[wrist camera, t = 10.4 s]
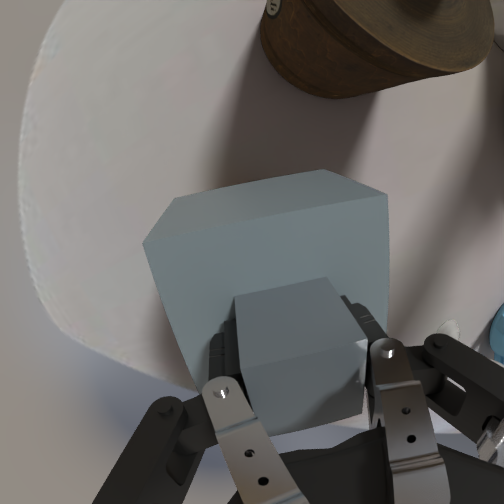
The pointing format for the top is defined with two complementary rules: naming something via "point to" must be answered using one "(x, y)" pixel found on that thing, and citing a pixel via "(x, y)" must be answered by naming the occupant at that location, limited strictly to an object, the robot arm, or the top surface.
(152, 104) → the top surface
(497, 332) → the teapot
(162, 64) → the top surface
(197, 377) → the tiered grey cube
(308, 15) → the wooden container
